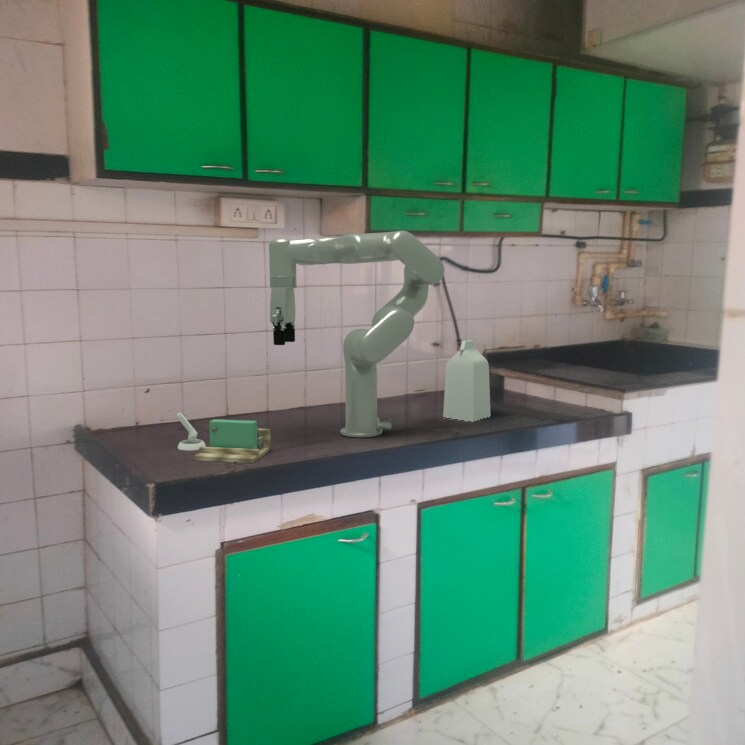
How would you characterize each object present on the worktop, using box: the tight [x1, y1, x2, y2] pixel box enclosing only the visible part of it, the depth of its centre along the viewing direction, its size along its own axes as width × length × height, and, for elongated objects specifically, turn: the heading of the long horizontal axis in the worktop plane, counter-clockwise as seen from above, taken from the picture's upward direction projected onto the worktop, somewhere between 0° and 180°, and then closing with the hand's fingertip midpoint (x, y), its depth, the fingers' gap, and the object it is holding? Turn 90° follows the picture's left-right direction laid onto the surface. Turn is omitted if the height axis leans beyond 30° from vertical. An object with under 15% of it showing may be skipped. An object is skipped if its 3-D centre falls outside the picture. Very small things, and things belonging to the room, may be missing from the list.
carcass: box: [193, 426, 272, 464], centre depth 191 cm, size 16×14×7 cm
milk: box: [442, 339, 491, 423], centre depth 243 cm, size 12×12×26 cm
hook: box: [176, 412, 207, 451], centre depth 201 cm, size 8×12×7 cm
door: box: [208, 418, 258, 449], centre depth 191 cm, size 12×4×8 cm, turn 79°
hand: (284, 343), depth 207 cm, fingers open, 9 cm apart
